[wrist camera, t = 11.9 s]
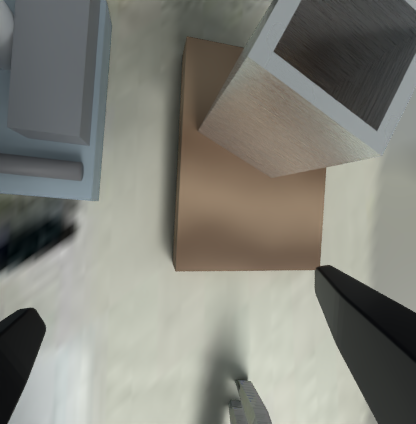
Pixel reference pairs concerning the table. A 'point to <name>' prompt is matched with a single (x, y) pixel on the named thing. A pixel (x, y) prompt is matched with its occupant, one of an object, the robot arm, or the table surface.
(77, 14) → the vise
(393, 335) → the robot arm
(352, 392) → the table surface
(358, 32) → the steel sleeve
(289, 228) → the walnut board
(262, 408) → the caliper
